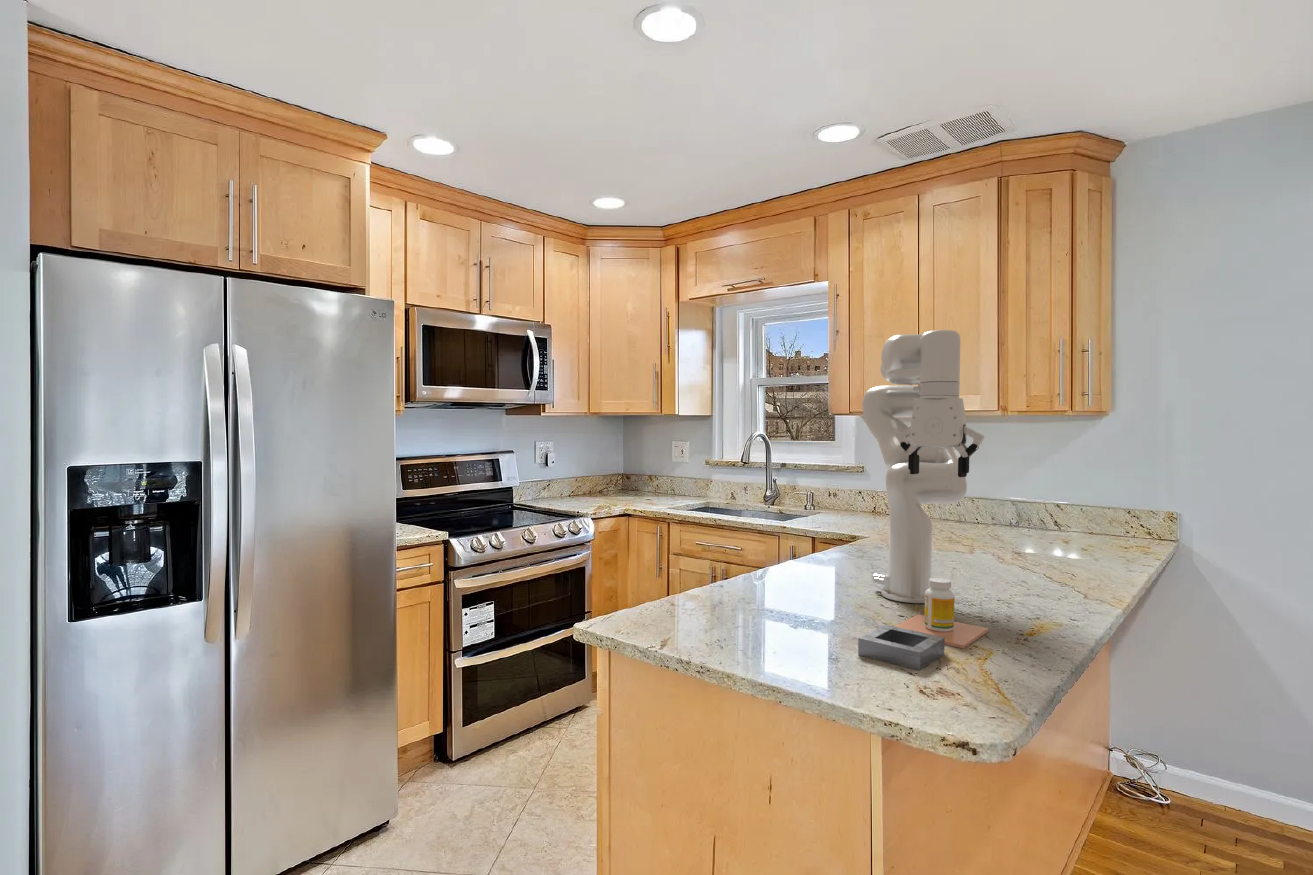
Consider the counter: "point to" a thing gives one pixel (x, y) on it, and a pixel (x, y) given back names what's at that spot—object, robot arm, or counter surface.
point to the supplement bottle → (939, 605)
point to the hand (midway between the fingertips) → (937, 475)
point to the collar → (901, 646)
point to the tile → (957, 637)
